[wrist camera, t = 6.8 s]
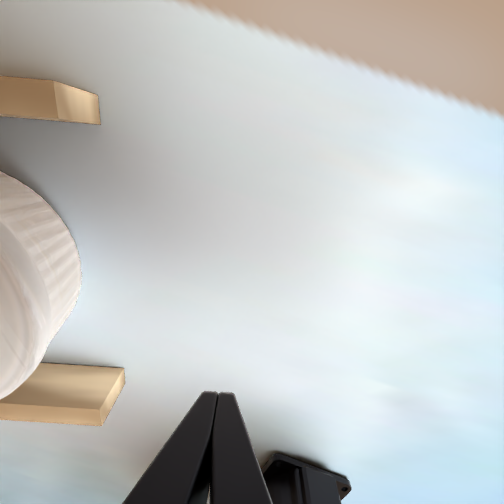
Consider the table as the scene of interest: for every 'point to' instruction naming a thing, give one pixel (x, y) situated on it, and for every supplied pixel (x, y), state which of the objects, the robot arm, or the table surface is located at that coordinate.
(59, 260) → the ramekin
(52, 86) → the cradle
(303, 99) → the table surface
